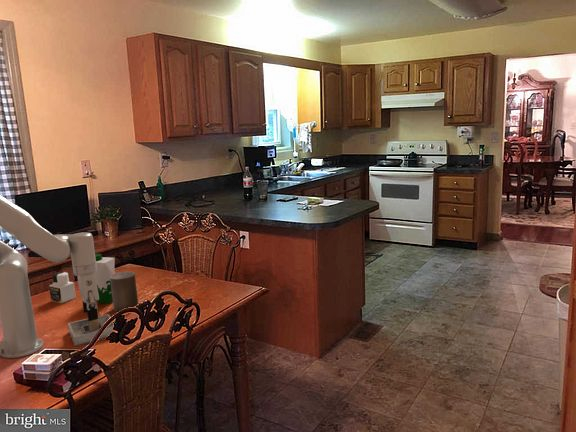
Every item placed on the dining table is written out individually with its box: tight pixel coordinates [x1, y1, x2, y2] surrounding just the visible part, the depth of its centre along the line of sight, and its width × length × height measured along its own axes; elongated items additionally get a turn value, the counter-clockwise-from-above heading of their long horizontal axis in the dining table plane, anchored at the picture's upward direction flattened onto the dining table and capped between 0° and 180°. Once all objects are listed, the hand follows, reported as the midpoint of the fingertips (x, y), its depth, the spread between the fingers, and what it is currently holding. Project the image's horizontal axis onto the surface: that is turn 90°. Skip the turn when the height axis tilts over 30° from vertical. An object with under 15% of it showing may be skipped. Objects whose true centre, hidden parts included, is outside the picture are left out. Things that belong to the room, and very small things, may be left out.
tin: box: [67, 313, 115, 348], centre depth 164 cm, size 14×14×4 cm
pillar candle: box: [110, 271, 139, 312], centre depth 187 cm, size 10×10×15 cm
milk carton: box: [95, 253, 116, 305], centre depth 194 cm, size 9×9×20 cm
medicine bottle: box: [48, 271, 77, 304], centre depth 198 cm, size 7×7×12 cm
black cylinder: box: [87, 299, 99, 331], centre depth 163 cm, size 3×3×12 cm
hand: (90, 315), depth 163 cm, fingers open, 8 cm apart
